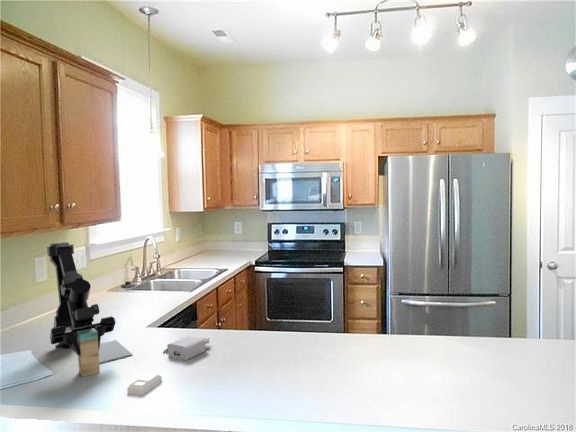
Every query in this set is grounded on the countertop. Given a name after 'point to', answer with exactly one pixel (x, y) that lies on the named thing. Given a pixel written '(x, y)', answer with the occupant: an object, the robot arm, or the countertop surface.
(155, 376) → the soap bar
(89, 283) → the robot arm
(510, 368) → the countertop surface
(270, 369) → the countertop surface
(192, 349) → the charger
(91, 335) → the oak block
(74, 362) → the countertop surface
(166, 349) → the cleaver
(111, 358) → the mat
